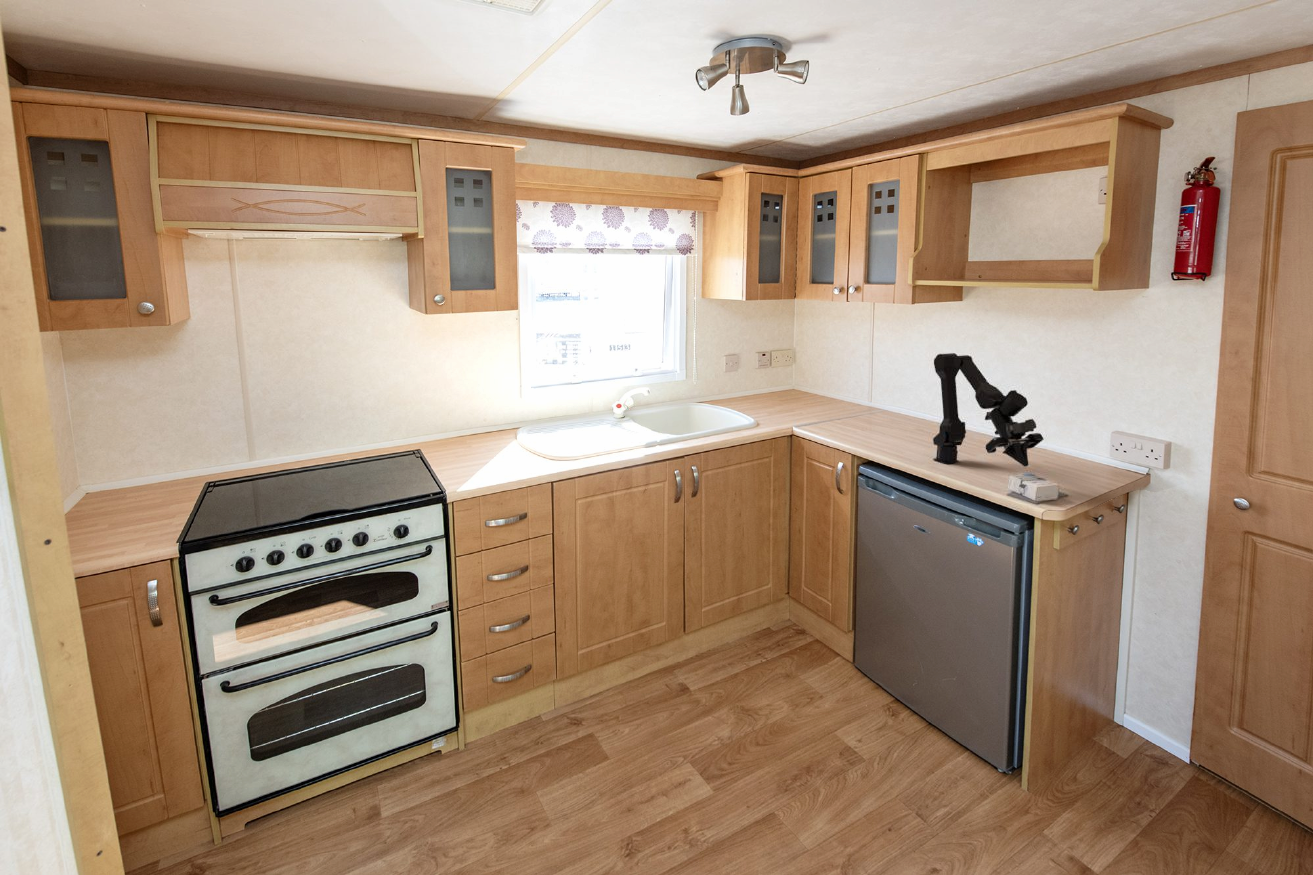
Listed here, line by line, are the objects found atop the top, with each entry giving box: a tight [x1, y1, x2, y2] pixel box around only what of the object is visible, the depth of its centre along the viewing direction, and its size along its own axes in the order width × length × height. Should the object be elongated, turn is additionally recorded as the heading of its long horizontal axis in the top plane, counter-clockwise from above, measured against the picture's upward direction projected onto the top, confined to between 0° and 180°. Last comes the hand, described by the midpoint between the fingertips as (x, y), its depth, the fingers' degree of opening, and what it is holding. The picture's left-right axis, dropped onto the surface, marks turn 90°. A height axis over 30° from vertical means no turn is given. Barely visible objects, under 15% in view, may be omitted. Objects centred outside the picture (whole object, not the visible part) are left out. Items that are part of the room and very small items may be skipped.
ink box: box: [1007, 473, 1060, 501], centre depth 229 cm, size 9×5×12 cm
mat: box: [1006, 491, 1069, 505], centre depth 230 cm, size 10×16×1 cm, turn 119°
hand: (1026, 465), depth 231 cm, fingers closed
